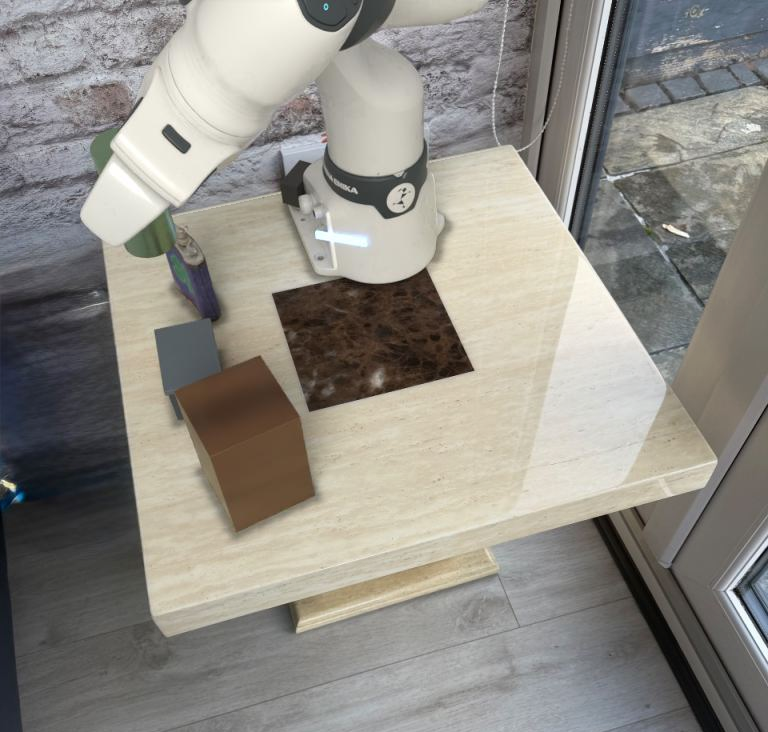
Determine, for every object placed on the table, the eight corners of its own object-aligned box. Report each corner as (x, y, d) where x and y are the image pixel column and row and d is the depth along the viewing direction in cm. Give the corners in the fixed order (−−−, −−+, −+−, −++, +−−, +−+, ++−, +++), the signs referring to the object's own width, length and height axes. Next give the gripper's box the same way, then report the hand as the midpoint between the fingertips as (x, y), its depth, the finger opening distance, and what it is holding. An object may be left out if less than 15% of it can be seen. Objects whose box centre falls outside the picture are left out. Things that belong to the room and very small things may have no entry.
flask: (171, 284, 106) (149, 213, 97) (192, 274, 107) (171, 203, 98) (207, 326, 102) (187, 256, 93) (228, 316, 103) (210, 245, 94)
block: (202, 470, 90) (173, 390, 79) (278, 437, 92) (260, 354, 81) (236, 532, 86) (209, 457, 75) (315, 496, 88) (300, 417, 77)
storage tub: (165, 361, 99) (153, 329, 94) (219, 350, 99) (210, 317, 95) (175, 423, 94) (163, 391, 89) (232, 410, 94) (223, 378, 90)
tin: (117, 234, 80) (81, 138, 71) (166, 216, 81) (137, 120, 73) (135, 265, 77) (100, 169, 69) (185, 246, 79) (157, 149, 70)
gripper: (228, 1, 68) (154, 98, 79) (104, 148, 58) (37, 237, 68) (286, 64, 71) (207, 149, 81) (177, 214, 61) (102, 290, 71)
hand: (128, 190), depth 75 cm, fingers closed on tin, 5 cm apart
